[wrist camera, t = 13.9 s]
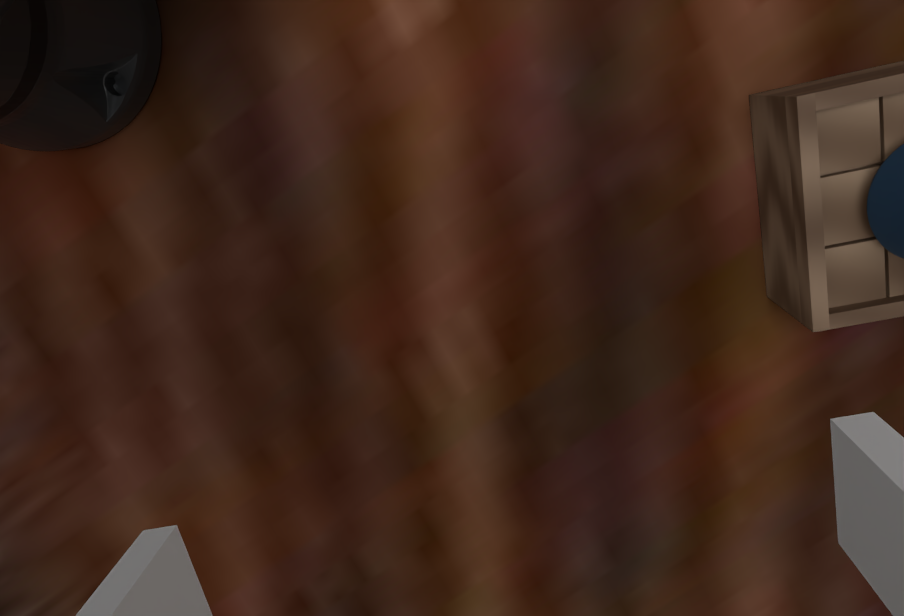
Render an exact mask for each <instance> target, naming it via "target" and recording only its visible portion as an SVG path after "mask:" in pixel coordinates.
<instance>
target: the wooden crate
mask: <svg viewBox="0 0 904 616" xmlns="http://www.w3.org/2000/svg"><path fill="white" fill-rule="evenodd" d="M749 102H750V113H751V124H752V135H753V146H754V157H755V168H756V179H757V190H758V202H759V213H760V224H761V235H762V246H763V257H764V268H765V279H766V291H767V297H768V298H769V299H771V300H772V301H773V302H775V303H776V304H777V305H779V306H780V307H781V308H782V309H784V310H785V311H786V312H788V313H789V314H790V315H791V316H793V317H794V318H795V319H797V320H798V321H799V322H801V323H802V324H803V325H804V326H806V327H807V328H808V329H810V330H811V331H812V332H818V331H823V330H829V329H835V328H840V327H846V326H851V325H857V324H863V323H868V322H874V321H880V320H885V319H891V318H896V317H902V316H904V259H903V258H900V257H898V256H896V255H894V254H893V253H891V252H889V251H888V250H887V249H886V248H884V247H883V246H882V245H881V244H880V243H879V241H878V240H877V239H876V237H875V235H874V234H873V232H872V230H871V227H870V224H869V221H868V216H867V197H868V192H869V188H870V185H871V183H872V180H873V178H874V176H875V174H876V172H877V171H878V169H879V168H880V166H881V165H882V163H883V162H884V161H885V160H886V159H887V158H888V157H889V156H890V155H891V153H893V152H894V151H895V150H896V149H897V148H899V147H900V146H901V145H903V144H904V61H901V62H897V63H892V64H888V65H883V66H879V67H874V68H869V69H865V70H860V71H856V72H851V73H847V74H842V75H838V76H833V77H829V78H824V79H820V80H815V81H811V82H806V83H801V84H797V85H792V86H788V87H783V88H779V89H774V90H770V91H765V92H761V93H756V94H752V95H749Z"/></svg>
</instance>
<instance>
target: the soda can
mask: <svg viewBox="0 0 904 616" xmlns="http://www.w3.org/2000/svg"><path fill="white" fill-rule="evenodd" d="M867 216H868V221H869V224H870V227H871V230H872V232H873V234H874V235H875V237H876V239H877V240H878V241H879V243H880V244H881V245H882V246H883V247H884V248H886V249H887V250H888V251H889V252H891V253H893V254H894V255H896V256H898V257H900V258H903V259H904V144H903V145H901V146H900V147H899V148H897V149H896V150H895V151H894V152H893V153H891V155H890V156H889V157H888V158H887V159H886V160H885V161H884V162H883V163H882V165H881V166H880V168H879V169H878V171H877V172H876V174H875V176H874V178H873V180H872V183H871V185H870V188H869V192H868V197H867Z"/></svg>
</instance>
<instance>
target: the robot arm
mask: <svg viewBox="0 0 904 616" xmlns="http://www.w3.org/2000/svg"><path fill="white" fill-rule="evenodd" d="M160 55H161V27H160V19H159V13H158V8H157V4H156V0H0V143H1V144H4V145H8V146H11V147H14V148H19V149H25V150H33V151H59V150H66V149H73V148H80V147H85V146H89V145H93V144H96V143H98V142H101V141H103V140H105V139H107V138H109V137H111V136H113V135H114V134H116V133H117V132H119V131H120V130H122V129H123V128H124V127H125V126H126V125H127V124H129V123H130V122H131V121H132V119H133V118H134V117H135V116H136V115H137V114H138V112H139V111H140V110H141V108H142V107H143V105H144V104H145V102H146V100H147V99H148V97H149V95H150V92H151V90H152V88H153V85H154V82H155V80H156V76H157V72H158V68H159V63H160ZM830 423H831V438H832V453H833V468H834V484H835V499H836V514H837V530H838V543H839V544H840V546H841V547H842V548H843V549H844V551H845V552H846V553H847V555H848V556H849V557H850V559H851V560H852V561H853V563H854V564H855V565H856V567H857V568H858V569H859V571H860V572H861V573H862V575H863V576H864V577H865V579H866V580H867V581H868V583H869V584H870V585H871V587H872V588H873V589H874V591H875V592H876V593H877V595H878V596H879V597H880V599H881V600H882V601H883V603H884V604H885V605H886V607H887V608H888V609H889V611H890V612H891V613H892V615H893V616H904V438H903V437H902V436H901V435H900V434H899V433H897V432H896V431H895V430H894V429H893V428H892V427H890V426H889V425H888V424H887V423H886V422H885V421H884V420H882V419H881V418H880V417H879V416H878V415H877V414H875V413H874V412H870V413H864V414H857V415H851V416H845V417H839V418H833V419H830ZM76 616H212V613H211V611H210V608H209V605H208V603H207V600H206V598H205V595H204V593H203V590H202V588H201V585H200V583H199V580H198V578H197V575H196V573H195V570H194V568H193V565H192V562H191V560H190V557H189V555H188V552H187V550H186V547H185V545H184V542H183V540H182V537H181V535H180V532H179V530H178V527H177V525H174V526H168V527H162V528H156V529H149V530H143V531H142V533H141V534H140V535H139V536H138V538H137V539H136V540H135V541H134V543H133V544H132V545H131V546H130V548H129V549H128V550H127V551H126V553H125V554H124V555H123V557H122V558H121V559H120V560H119V562H118V563H117V564H116V565H115V567H114V568H113V569H112V570H111V572H110V573H109V574H108V575H107V577H106V578H105V579H104V581H103V582H102V583H101V584H100V586H99V587H98V588H97V589H96V591H95V592H94V593H93V594H92V596H91V597H90V598H89V599H88V601H87V602H86V603H85V605H84V606H83V607H82V608H81V610H80V611H79V612H78V613H77V615H76Z"/></svg>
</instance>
